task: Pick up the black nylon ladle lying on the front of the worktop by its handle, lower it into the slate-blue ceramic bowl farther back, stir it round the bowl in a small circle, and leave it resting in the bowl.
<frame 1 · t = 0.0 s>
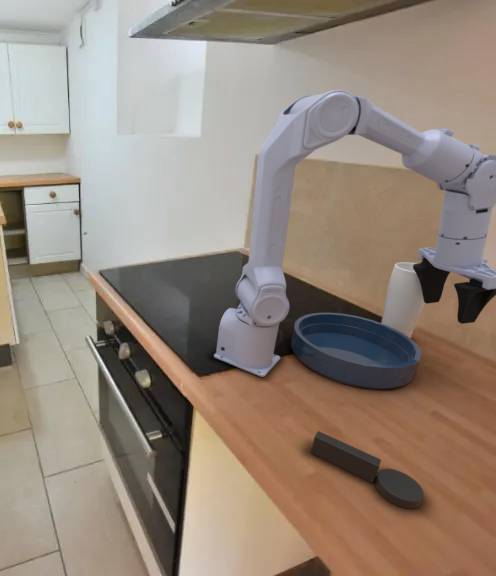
hand: (447, 311, 64), 11 cm above the worktop, tool pointing down, fingers open, 7 cm apart
drinking glass: (393, 337, 78), on the worktop
ladle: (364, 475, 46), on the worktop
bowl: (347, 357, 70), on the worktop
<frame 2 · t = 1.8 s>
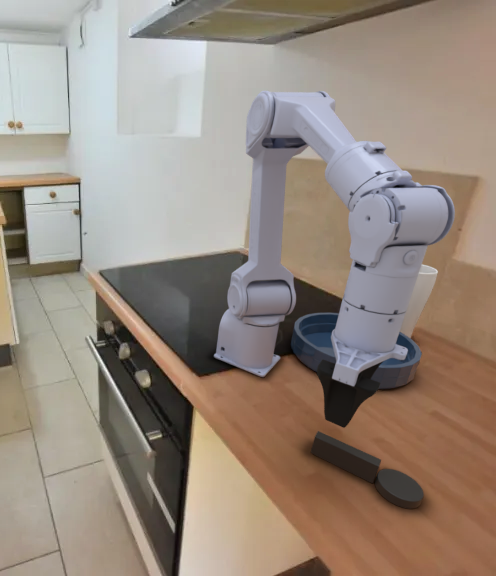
hand: (344, 405, 46), 8 cm above the worktop, tool pointing down, fingers open, 7 cm apart
nothing on the worktop moved.
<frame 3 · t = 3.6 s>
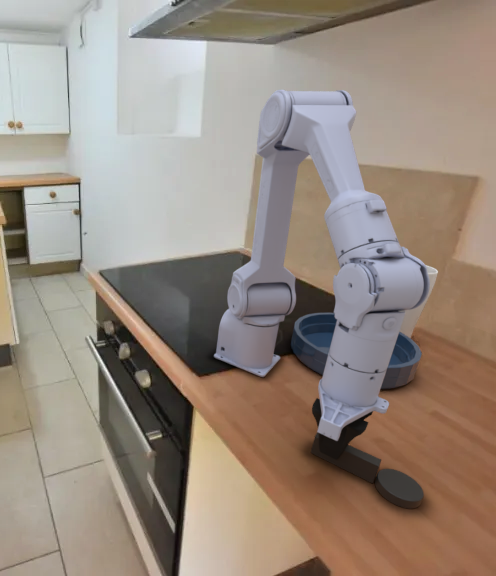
hand: (331, 449, 48), 1 cm above the worktop, tool pointing down, fingers closed on ladle
ladle: (364, 475, 46), on the worktop, touching gripper
everything else where it was.
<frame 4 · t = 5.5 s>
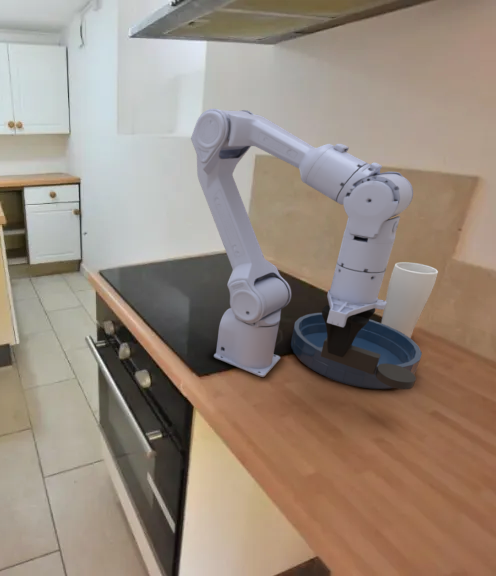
hand: (337, 351, 57), 8 cm above the worktop, tool pointing down, fingers closed on ladle
ladle: (366, 370, 55), point 7 cm above the worktop, touching gripper
everything else where it was.
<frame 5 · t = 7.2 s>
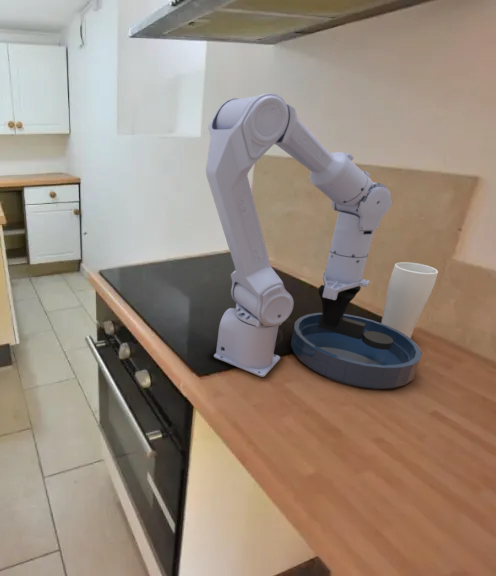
hand: (331, 322, 71), 6 cm above the worktop, tool pointing down, fingers closed on ladle
ladle: (354, 336, 69), point 5 cm above the worktop, touching gripper
everything else where it was.
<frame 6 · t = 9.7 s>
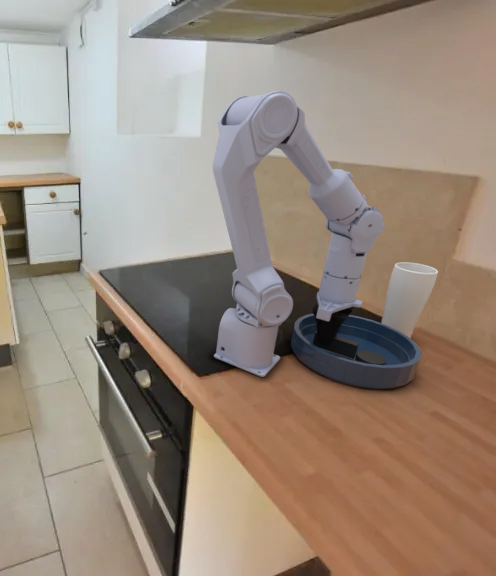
hand: (325, 341, 71), 2 cm above the worktop, tool pointing down, fingers closed on ladle
ladle: (348, 355, 69), point 1 cm above the worktop, touching gripper
everything else where it was.
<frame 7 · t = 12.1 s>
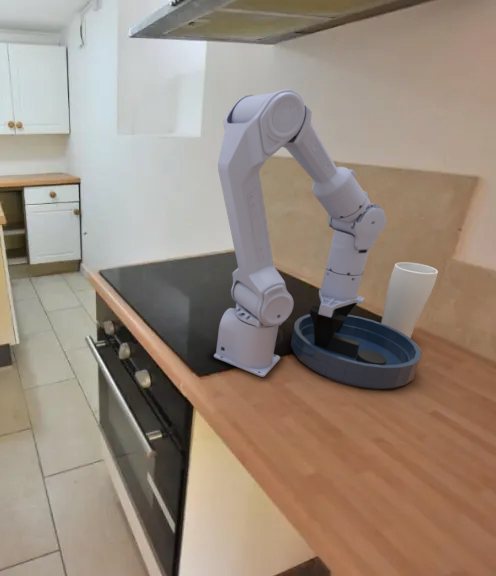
hand: (327, 337, 72), 3 cm above the worktop, tool pointing down, fingers open, 7 cm apart
ladle: (349, 355, 70), point 1 cm above the worktop, touching bowl
everything else where it was.
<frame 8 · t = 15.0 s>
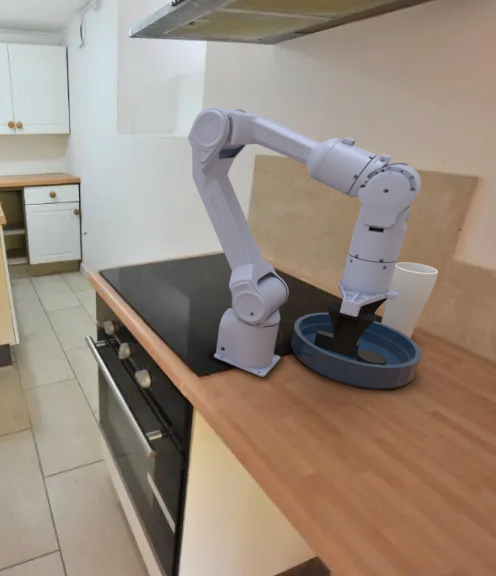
hand: (348, 342, 57), 9 cm above the worktop, tool pointing down, fingers open, 7 cm apart
nothing on the worktop moved.
at the end: ladle inside the target area in the bowl (0.2 cm from its centre), point 0.6 cm above the bowl's base; the gripper is holding nothing; ladle moved 29.1 cm from its start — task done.
